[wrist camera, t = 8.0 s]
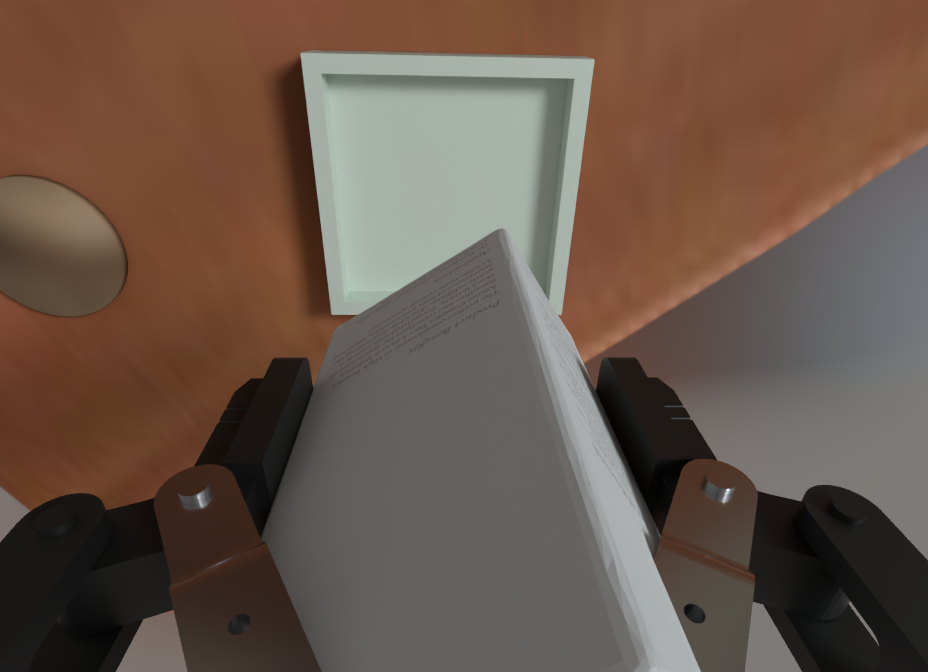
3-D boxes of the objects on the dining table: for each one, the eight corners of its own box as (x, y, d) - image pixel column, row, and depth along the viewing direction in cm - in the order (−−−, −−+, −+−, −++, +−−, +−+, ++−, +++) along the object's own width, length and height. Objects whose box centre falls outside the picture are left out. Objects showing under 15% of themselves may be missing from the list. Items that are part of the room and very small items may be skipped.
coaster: (-59, 174, 27) (-69, 177, 27) (101, 175, 28) (95, 178, 27) (5, 311, 32) (-2, 316, 31) (145, 311, 32) (140, 316, 31)
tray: (310, 50, 25) (300, 52, 23) (583, 56, 26) (594, 59, 24) (338, 297, 32) (331, 314, 30) (554, 297, 32) (561, 314, 31)
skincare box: (414, 416, 18) (377, 970, 8) (326, 319, 16) (108, 891, 6) (578, 326, 16) (820, 869, 6) (504, 206, 14) (670, 708, 4)
